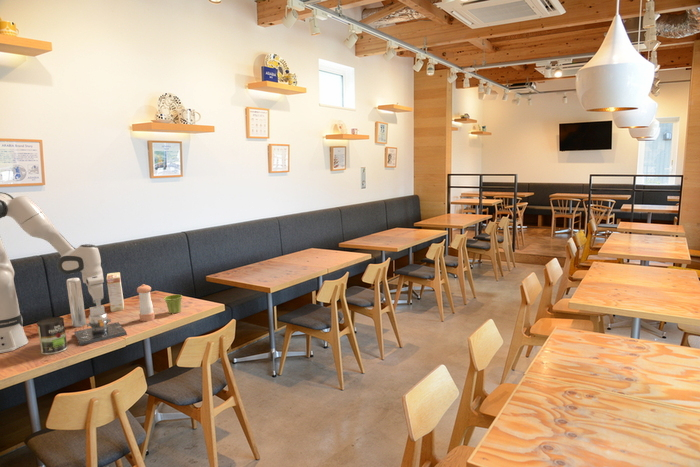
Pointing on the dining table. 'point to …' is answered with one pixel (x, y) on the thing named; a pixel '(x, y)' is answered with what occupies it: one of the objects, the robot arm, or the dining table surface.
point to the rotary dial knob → (98, 317)
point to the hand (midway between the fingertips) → (97, 305)
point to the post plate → (99, 333)
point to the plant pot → (173, 303)
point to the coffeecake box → (115, 291)
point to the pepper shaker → (145, 303)
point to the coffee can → (52, 335)
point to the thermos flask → (76, 302)
